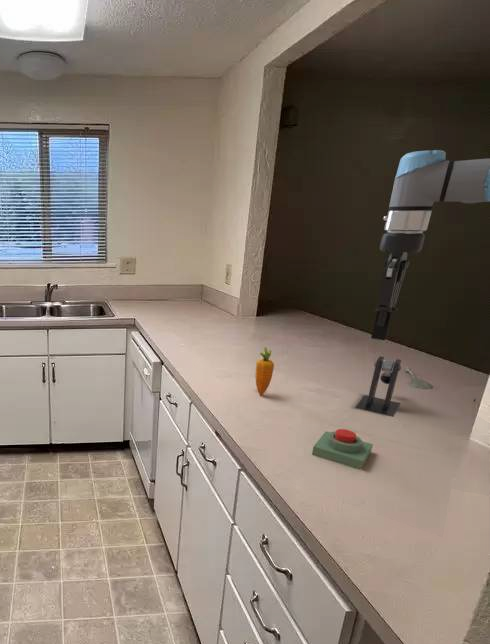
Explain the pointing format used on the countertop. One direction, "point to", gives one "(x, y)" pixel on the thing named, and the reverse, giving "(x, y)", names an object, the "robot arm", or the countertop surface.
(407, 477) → the countertop surface
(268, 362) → the carrot
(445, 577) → the countertop surface
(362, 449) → the button box
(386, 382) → the grey swinging pendulum
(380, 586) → the countertop surface
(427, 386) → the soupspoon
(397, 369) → the twin-post stand
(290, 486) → the countertop surface
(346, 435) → the button
